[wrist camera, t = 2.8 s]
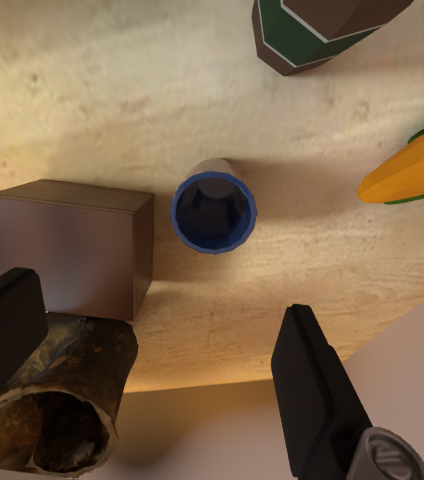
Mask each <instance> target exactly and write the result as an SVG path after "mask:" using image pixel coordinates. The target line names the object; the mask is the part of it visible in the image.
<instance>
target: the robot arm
mask: <svg viewBox="0 0 424 480" xmlns="http://www.w3.org/2000/svg"><path fill="white" fill-rule="evenodd" d="M48 331H49V328H48V322H47V316H46V311H45V305H44V299H43V294H42V288H41V282H40V277H39V275H38V274H37V273H36V272H35V270H34V269H30V268H22V267H14V268H12V269H10V270H9V271H7V272H5V273H4V274H2V275H1V276H0V390H1V389H2V388H3V387H4V386H5V385H6V383H7V382H8V381H9V380H10V379H11V378H12V376H13V375H14V374H15V373H16V372H17V371H18V370H19V368H20V367H21V366H22V365H23V364H24V363H25V361H26V360H27V359H28V358H29V357H30V356H31V355H32V353H33V352H34V351H35V350H36V349H37V348H38V347H39V345H40V344H41V343H42V342H43V341H44V340H45V338H46V337H47V335H48ZM271 370H272V375H273V380H274V385H275V390H276V396H277V401H278V406H279V411H280V417H281V421H282V426H283V432H284V437H285V442H286V448H287V453H288V458H289V463H290V469H291V472H292V475H293V476H294V477H298V480H424V462H423V460H422V458H421V457H420V456H419V454H418V453H417V452H416V451H415V450H414V449H413V448H412V447H411V445H409V444H408V443H407V442H406V441H405V440H403V439H402V438H401V437H400V436H398V435H396V434H395V433H393V432H391V431H390V430H387V429H384V428H380V427H373V425H372V424H371V421H370V420H369V417H368V415H367V413H366V411H365V410H364V407H363V405H362V403H361V401H360V399H359V398H358V395H357V393H356V391H355V390H354V388H353V385H352V383H351V381H350V380H349V377H348V375H347V373H346V371H345V369H344V367H343V365H342V363H341V361H340V359H339V357H338V355H337V353H336V351H335V350H334V348H333V347H332V346H331V345H329V344H328V342H327V340H326V338H325V336H324V334H323V332H322V330H321V328H320V326H319V324H318V321H317V319H316V317H315V315H314V313H313V311H312V309H311V307H310V306H308V305H301V304H293V305H292V306H291V307H287V309H286V312H285V315H284V318H283V322H282V325H281V328H280V332H279V335H278V339H277V342H276V345H275V349H274V352H273V355H272V359H271ZM0 480H78V479H71V478H63V477H55V476H47V475H40V474H32V473H24V472H16V471H9V470H1V469H0Z"/></svg>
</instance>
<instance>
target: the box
mask: <svg viewBox="0 0 424 480" xmlns="http://www.w3.org/2000/svg"><path fill="white" fill-rule="evenodd" d="M0 195H4V196H12V197H21V198H29V199H37V200H45V201H53V202H61V203H69V204H77V205H85V206H93V207H101V208H109V209H117V210H125V211H134V212H135V234H136V315H137V313H138V311H139V308H140V306H141V304H142V302H143V300H144V298H145V295H146V293H147V291H148V289H149V287H150V284H151V282H152V273H153V235H154V198H155V193H148V192H140V191H132V190H124V189H116V188H108V187H100V186H92V185H84V184H76V183H68V182H60V181H52V180H44V179H41V180H37V181H34V182H30V183H27V184H23V185H19V186H16V187H12V188H9V189H5V190H2V191H0Z"/></svg>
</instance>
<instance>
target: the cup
mask: <svg viewBox="0 0 424 480" xmlns="http://www.w3.org/2000/svg"><path fill="white" fill-rule="evenodd" d="M256 216H257V209H256V205H255V200H254V196H253V194H252V192H251V190H250V188H249V186H248V183H247V181H246V179H245V177H244V176H243V174H242V173H241V171H240V170H239V169H238V167H237V166H235V165H234V164H233V163H231V162H229V161H227V160H224V159H218V158H213V159H207V160H204V161H202V162H200V163H199V164H197V165H196V166H195V167H194V168H193V169H192V170H191V171H190V172H189V173H188V175H187V176H186V177H185V179H184V180H183V181H182V183H181V184H180V185H179V187H178V188H177V190H176V192H175V194H174V196H173V198H172V200H171V205H170V220H171V223H172V226H173V228H174V231H175V233H176V235H177V236H178V237H179V238H180V239H181V240H182V241H183V242H184V244H185V245H187V246H188V247H190V248H192V249H194V250H196V251H198V252H201V253H207V254H221V253H225V252H229V251H232V250H234V249H235V248H237V247H238V246H240V245H241V244H243V243H244V242H245V241H246V240H247V238H248V237H249V235H250V234H251V232H252V231H253V229H254V226H255V221H256Z"/></svg>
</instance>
